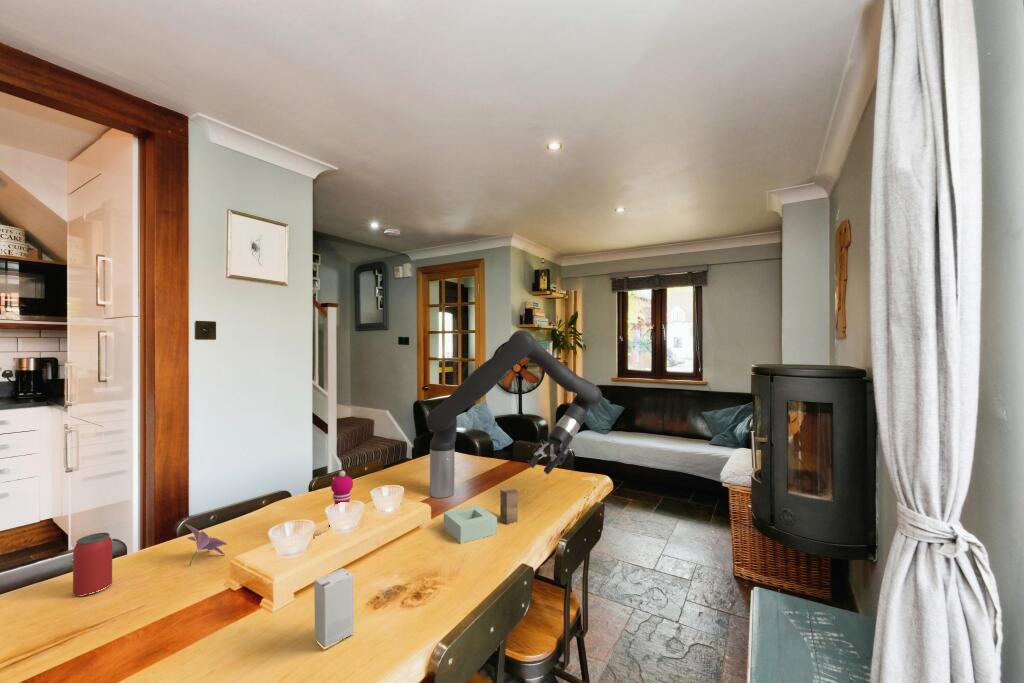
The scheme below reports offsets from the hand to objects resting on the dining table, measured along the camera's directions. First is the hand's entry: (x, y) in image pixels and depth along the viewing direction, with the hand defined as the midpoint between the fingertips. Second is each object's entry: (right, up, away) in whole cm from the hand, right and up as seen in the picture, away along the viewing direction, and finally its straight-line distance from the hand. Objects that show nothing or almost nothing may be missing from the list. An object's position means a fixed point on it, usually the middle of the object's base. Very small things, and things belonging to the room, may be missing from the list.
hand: (538, 469), depth 145 cm
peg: (-10, -15, -6) cm, 19 cm away
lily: (-90, -15, -31) cm, 96 cm away
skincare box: (-43, -15, -62) cm, 77 cm away
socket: (-22, -15, -14) cm, 29 cm away
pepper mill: (-58, -15, -19) cm, 63 cm away
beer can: (-106, -15, -45) cm, 116 cm away
